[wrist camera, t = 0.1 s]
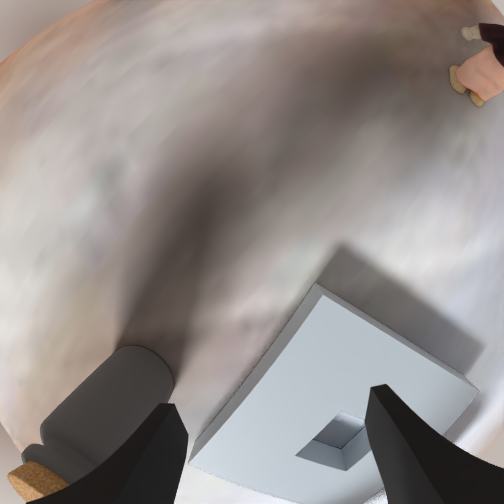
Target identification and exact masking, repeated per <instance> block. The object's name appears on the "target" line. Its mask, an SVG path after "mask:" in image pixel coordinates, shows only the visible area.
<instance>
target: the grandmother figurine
mask: <svg viewBox="0 0 504 504" xmlns="http://www.w3.org/2000/svg"><path fill="white" fill-rule="evenodd" d="M461 34H462V36H463V37H464V38H465V39H466V40H469V41H471V40H474V39H477V40H484V41H486V42H489V43H491V44H490V45H488V46H487V47H485V48H484V49H483V50H482V51H480V52H479V53H478V54H476V55H474V56H472V57H470V58H469V59H467V60H466V61H465V62H464V64H463V65H461V66H457V65H453V66H450V68H449V75H450V83H451V86H452V87H453V89H454V90H455V91H457V92H459V93H461V94H462V93H464V92H465V91H466V87H467V88H469V89H470V98H471V100H472V101H473V103H474V104H475V105H476V106H478V107H481V106H482V105H483V104H484V103H485V101H487V100H489V99H491V98H492V97H494V96H496V95H498V94H500V93H501V92H503V91H504V26H503V25H498V24H486V23H479V25H475V26H471V27H470V28H469V27H463V28H462V29H461Z"/></svg>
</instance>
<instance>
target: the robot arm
mask: <svg viewBox="0 0 504 504" xmlns="http://www.w3.org/2000/svg"><path fill="white" fill-rule="evenodd" d="M365 426H366V431H367V436H368V440H369V444H370V447H371V450H372V453H373V456H374V458H375V461H376V464H377V467H378V470H379V473H380V476H381V479H382V482H383V484H384V488H385V491H386V495H387V500H388V504H504V468H501V467H498V466H495V465H493V464H490V463H488V462H486V461H484V460H481V459H479V458H477V457H475V456H473V455H471V454H469V453H468V452H466V451H464V450H463V449H461V448H459V447H458V446H456V445H455V444H453V443H452V442H450V441H449V440H447V439H446V438H445V437H443V436H442V435H441V434H439V433H438V432H437V431H436V430H434V429H433V428H432V427H431V426H429V425H428V424H427V423H426V422H425V421H424V420H423V419H422V418H420V417H419V416H418V415H417V414H416V413H415V412H414V411H413V410H412V409H411V408H410V407H409V406H408V405H407V404H406V403H405V402H404V401H403V400H402V399H401V398H400V397H399V396H398V395H397V394H396V393H395V392H394V391H393V390H392V389H391V388H390V387H389V386H388V385H387V384H382V385H378V386H373V387H370V394H369V399H368V405H367V410H366V416H365ZM188 436H189V435H188V433H187V431H186V429H185V426H184V424H183V422H182V420H181V418H180V416H179V413H178V411H177V409H176V406H175V404H171V403H159V404H158V405H157V406H156V408H155V409H154V410H153V411H152V412H151V413H150V414H149V416H148V417H147V418H146V419H145V420H144V421H143V423H142V424H141V425H140V426H139V427H138V428H137V429H136V430H135V432H134V433H133V434H132V435H131V436H130V437H129V438H128V439H127V440H126V441H125V442H124V443H123V444H122V445H121V446H120V447H119V448H118V449H117V450H116V451H115V452H114V453H113V454H112V455H111V456H110V457H109V458H108V459H106V460H105V461H104V462H103V463H102V464H100V465H99V466H98V467H97V468H95V469H94V470H93V471H91V472H90V473H88V474H87V475H85V476H84V477H82V478H81V479H79V480H77V481H76V482H74V483H73V484H71V485H69V486H67V487H65V488H63V489H61V490H59V491H57V492H55V493H52V494H50V495H47V496H45V497H42V498H39V499H36V500H32V501H29V502H27V503H26V504H174V500H175V496H176V493H177V489H178V485H179V482H180V478H181V474H182V471H183V467H184V463H185V459H186V453H187V446H188Z"/></svg>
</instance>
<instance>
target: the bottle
mask: <svg viewBox="0 0 504 504" xmlns="http://www.w3.org/2000/svg"><path fill="white" fill-rule="evenodd" d="M173 388H174V381H173V377H172V373H171V371H170V369H169V368H168V366H167V365H166V363H165V362H164V361H163V360H162V359H161V358H160V357H159V356H158V355H156V354H155V353H154V352H152V351H150V350H148V349H146V348H143V347H140V346H133V345H130V346H124V347H122V348H120V349H118V350H117V351H116V352H114V353H113V354H112V355H111V356H110V357H109V358H108V359H107V360H106V361H104V362H103V363H102V364H101V365H100V366H99V367H98V368H97V369H96V370H95V371H94V372H93V373H92V374H91V375H90V376H89V377H88V378H87V379H86V380H85V381H83V382H82V383H81V384H80V385H79V386H78V387H77V388H76V389H75V390H74V391H73V392H72V393H71V394H70V395H69V396H68V397H67V398H66V399H65V400H64V401H63V402H62V403H61V404H60V405H59V406H58V407H57V408H56V409H55V410H54V411H53V412H52V413H51V414H50V415H49V416H48V417H47V418H46V419H45V420H44V421H43V423H42V424H41V427H40V436H41V440H42V443H43V445H44V446H43V445H40V444H30V445H29V446H28V447H27V448H26V449H25V450H24V451H23V453H22V455H21V457H22V461H23V463H24V464H23V465H21V466H20V467H18V468H16V469H15V470H13V471H11V472H10V473H8V480H9V482H10V483H11V485H12V486H13V488H14V489H15V490H16V491H17V493H18V494H19V495H20V496H21V497H22V498H23V499H24V500H25V501H26V502H29V501H32V500H36V499H39V498H42V497H45V496H47V495H50V494H52V493H55V492H57V491H59V490H61V489H63V488H65V487H67V486H69V485H71V484H73V483H74V482H76V481H77V480H79V479H81V478H82V477H84V476H85V475H87V474H88V473H90V472H91V471H93V470H94V469H95V468H97V467H98V466H99V465H100V464H102V463H103V462H104V461H105V460H106V459H108V458H109V457H110V456H111V455H112V454H113V453H114V452H115V451H116V450H117V449H118V448H119V447H120V446H121V445H122V444H123V443H124V442H125V441H126V440H127V439H128V438H129V437H130V436H131V435H132V434H133V433H134V432H135V430H136V429H137V428H138V427H139V426H140V425H141V424H142V423H143V421H144V420H145V419H146V418H147V417H148V416H149V414H150V413H151V412H152V411H153V410H154V409H155V408H156V406H157V405H158V404H159V403H168V401H169V399H170V397H171V394H172V392H173Z"/></svg>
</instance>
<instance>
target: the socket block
mask: <svg viewBox="0 0 504 504" xmlns="http://www.w3.org/2000/svg"><path fill="white" fill-rule="evenodd" d="M382 384H387V385H388V386H389V387H390V388H391V389H392V390H393V391H394V392H395V393H396V394H397V395H398V396H399V397H400V398H401V399H402V400H403V401H404V402H405V403H406V404H407V405H408V406H409V407H410V408H411V409H412V410H413V411H414V412H415V413H416V414H417V415H418V416H419V417H420V418H422V419H423V420H424V421H425V422H426V423H427V424H428V425H429V426H431V427H432V428H433V429H434V430H436V431H437V432H438V433H439V434H441V435H443V434H444V433H445V432H446V431H447V430H448V429H449V428H450V427H451V426H452V425H453V423H454V422H455V421H456V420H457V419H458V418H459V417H460V415H461V414H462V413H463V412H464V411H465V410H466V408H467V407H468V406H469V405H470V403H471V402H472V401H473V400H474V398H475V397H476V396H477V395H478V393H479V392H480V391H479V390H478V389H477V388H476V387H475V386H474V385H473V384H472V383H471V382H470V381H469V380H468V379H467V378H466V377H465V376H464V375H462V374H460V373H459V372H457V371H456V370H454V369H453V368H451V367H449V366H448V365H446V364H445V363H443V362H442V361H440V360H439V359H437V358H435V357H434V356H432V355H431V354H429V353H427V352H426V351H424V350H423V349H421V348H420V347H418V346H416V345H415V344H413V343H412V342H410V341H409V340H407V339H405V338H404V337H402V336H401V335H399V334H397V333H396V332H394V331H393V330H391V329H390V328H388V327H386V326H385V325H383V324H382V323H380V322H378V321H377V320H375V319H374V318H372V317H370V316H369V315H367V314H366V313H364V312H362V311H361V310H359V309H358V308H356V307H354V306H353V305H351V304H350V303H348V302H346V301H345V300H343V299H342V298H340V297H338V296H337V295H335V294H334V293H332V292H330V291H329V290H327V289H326V288H324V287H322V286H321V285H319V284H317V283H316V282H315V283H314V285H313V286H312V288H311V289H310V291H309V292H308V294H307V295H306V297H305V298H304V300H303V301H302V303H301V304H300V305H299V307H298V308H297V310H296V311H295V313H294V314H293V316H292V317H291V318H290V320H289V321H288V323H287V324H286V326H285V327H284V328H283V330H282V331H281V333H280V334H279V335H278V337H277V338H276V340H275V341H274V342H273V344H272V345H271V346H270V348H269V349H268V351H267V352H266V353H265V355H264V356H263V357H262V359H261V360H260V361H259V363H258V364H257V365H256V367H255V368H254V369H253V371H252V372H251V373H250V375H249V376H248V377H247V378H246V380H245V381H244V382H243V384H242V385H241V386H240V388H239V389H238V390H237V391H236V393H235V394H234V395H233V396H232V398H231V399H230V400H229V401H228V403H227V404H226V405H225V406H224V408H223V409H222V410H221V411H220V413H219V414H218V415H217V416H216V417H215V419H214V420H213V421H212V422H211V423H210V425H209V426H208V427H207V428H206V429H205V431H204V432H203V433H202V434H201V435H200V437H199V438H198V439H197V440H196V441H195V443H194V446H193V449H192V452H191V455H190V458H189V461H188V464H189V465H191V466H193V467H195V468H197V469H200V470H202V471H204V472H206V473H209V474H211V475H214V476H216V477H218V478H221V479H223V480H226V481H229V482H231V483H234V484H237V485H239V486H242V487H245V488H248V489H251V490H254V491H257V492H260V493H263V494H267V495H270V496H273V497H277V498H281V499H284V500H288V501H292V502H296V503H300V504H362V503H364V502H365V501H367V500H368V499H369V498H371V497H372V496H374V495H375V494H376V493H378V492H379V491H380V490H382V489H383V488H384V484H383V482H382V479H381V476H380V473H379V470H378V467H377V464H376V461H375V458H374V456H373V453H372V450H371V447H370V444H369V440H368V436H367V431H366V426H365V427H364V428H363V429H362V430H361V431H360V432H359V433H358V434H357V435H355V436H354V437H353V438H352V439H351V440H350V441H349V442H348V443H347V444H346V445H345V446H344V447H343V448H342V449H339V448H336V447H333V446H330V445H327V444H324V443H321V442H318V441H316V440H313V438H314V437H315V436H316V435H317V434H318V433H319V432H320V431H321V430H322V429H323V428H324V427H325V426H326V425H327V424H328V423H329V422H330V421H331V420H332V419H333V418H334V417H335V416H336V415H337V414H338V413H339V412H340V411H342V412H344V413H347V414H349V415H352V416H354V417H357V418H359V419H362V420H364V421H365V416H366V410H367V405H368V399H369V394H370V387H373V386H378V385H382Z"/></svg>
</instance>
